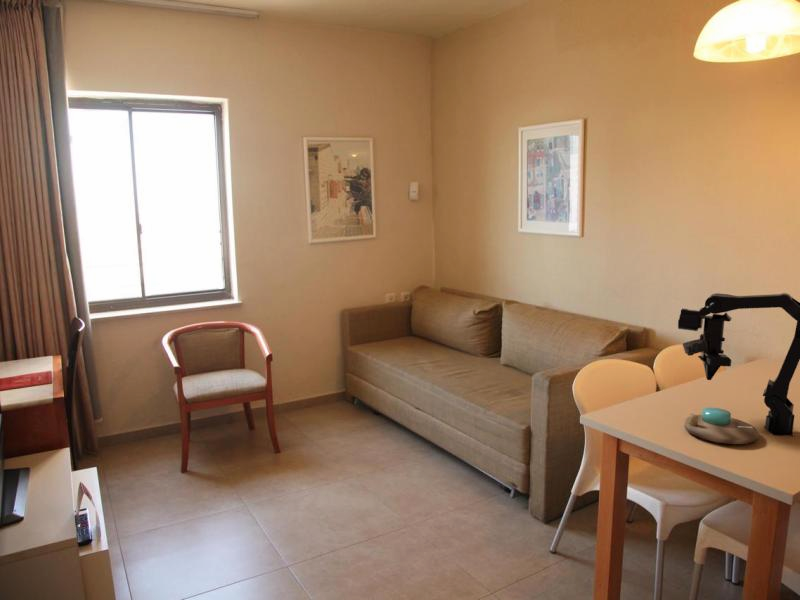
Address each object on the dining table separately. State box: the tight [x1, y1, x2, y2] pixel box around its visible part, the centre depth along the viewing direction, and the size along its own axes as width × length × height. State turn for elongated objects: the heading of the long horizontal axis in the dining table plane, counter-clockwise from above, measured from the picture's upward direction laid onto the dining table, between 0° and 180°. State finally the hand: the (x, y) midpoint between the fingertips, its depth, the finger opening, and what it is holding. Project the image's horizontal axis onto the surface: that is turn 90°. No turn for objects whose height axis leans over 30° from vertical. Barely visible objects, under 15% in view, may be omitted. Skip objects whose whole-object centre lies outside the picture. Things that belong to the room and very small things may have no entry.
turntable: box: [684, 413, 759, 445], centre depth 192 cm, size 20×20×4 cm
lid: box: [701, 406, 732, 426], centre depth 197 cm, size 8×8×3 cm
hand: (708, 379), depth 204 cm, fingers closed
